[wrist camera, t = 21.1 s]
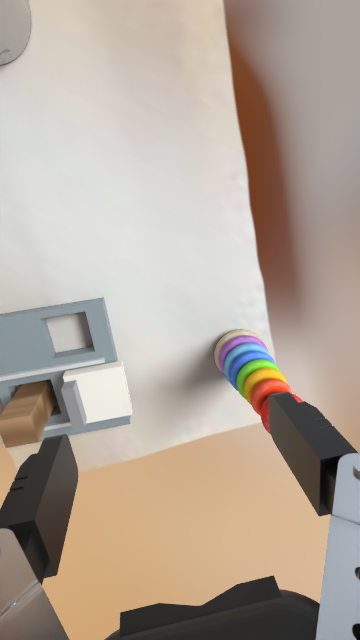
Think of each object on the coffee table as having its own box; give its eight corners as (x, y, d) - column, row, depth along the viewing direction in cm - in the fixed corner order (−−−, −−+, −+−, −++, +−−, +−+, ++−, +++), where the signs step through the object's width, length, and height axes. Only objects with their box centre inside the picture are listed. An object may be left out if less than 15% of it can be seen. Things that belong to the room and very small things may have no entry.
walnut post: (21, 383, 46) (-5, 421, 38) (49, 379, 46) (29, 415, 38) (29, 406, 47) (5, 447, 39) (56, 401, 48) (38, 441, 39)
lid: (65, 370, 44) (59, 384, 40) (122, 360, 44) (120, 373, 41) (79, 417, 46) (74, 434, 43) (132, 407, 47) (131, 423, 43)
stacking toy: (204, 364, 49) (241, 448, 31) (227, 320, 47) (280, 382, 29) (246, 380, 51) (304, 467, 33) (270, 338, 49) (345, 406, 31)
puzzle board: (-22, 317, 42) (-32, 324, 40) (103, 297, 43) (101, 302, 41) (22, 436, 49) (16, 448, 46) (130, 415, 50) (129, 426, 48)
